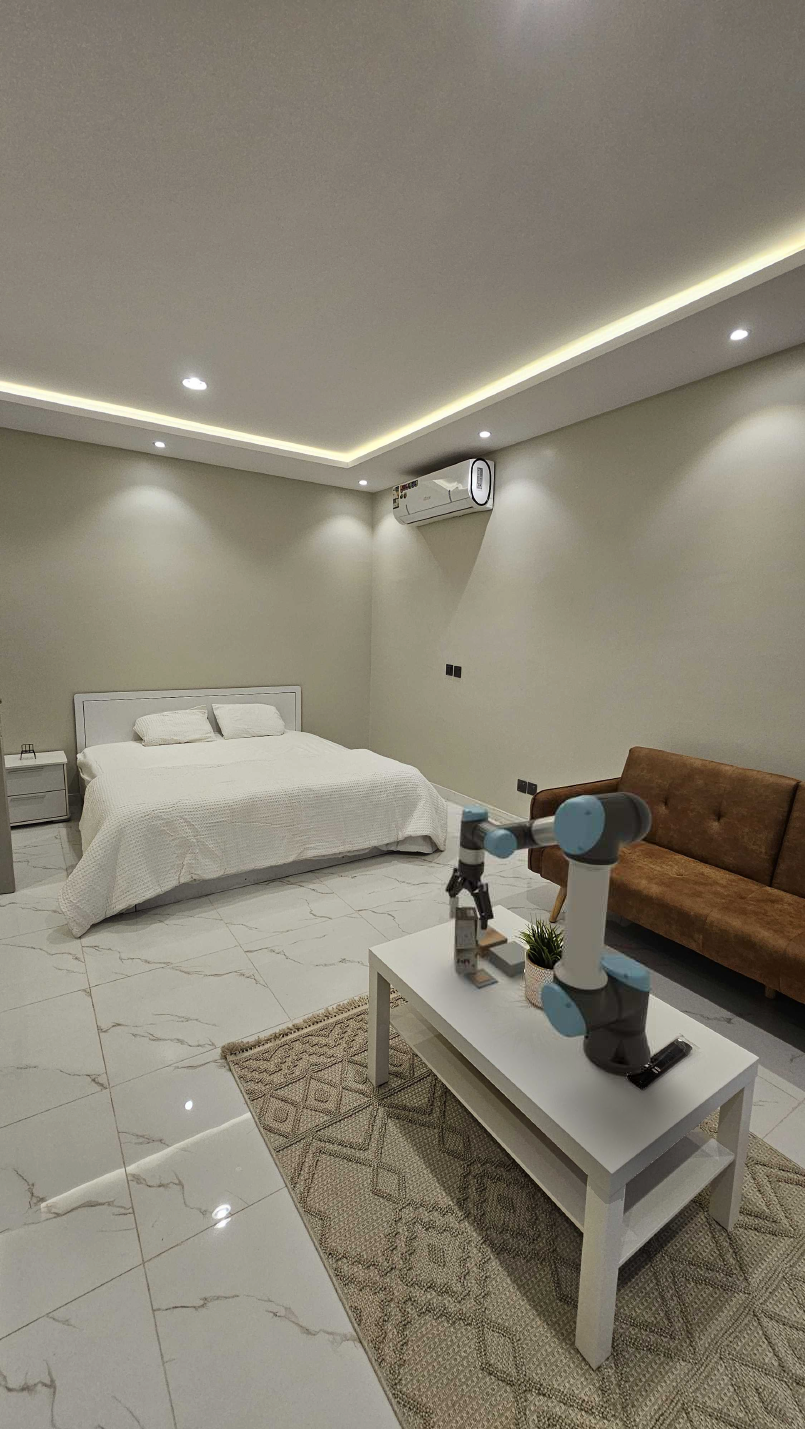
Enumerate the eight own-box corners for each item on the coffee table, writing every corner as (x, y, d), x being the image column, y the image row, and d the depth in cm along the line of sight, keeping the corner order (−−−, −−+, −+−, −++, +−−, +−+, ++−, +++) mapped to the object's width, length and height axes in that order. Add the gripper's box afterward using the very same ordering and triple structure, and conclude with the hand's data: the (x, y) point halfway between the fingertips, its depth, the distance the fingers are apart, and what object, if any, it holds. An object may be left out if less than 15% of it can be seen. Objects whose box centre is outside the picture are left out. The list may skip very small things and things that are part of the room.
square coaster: (498, 981, 171) (498, 979, 171) (478, 988, 168) (478, 986, 168) (482, 969, 177) (482, 967, 177) (463, 975, 174) (463, 973, 174)
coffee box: (477, 973, 174) (479, 920, 173) (455, 972, 174) (457, 919, 173) (474, 957, 183) (475, 906, 182) (453, 956, 184) (454, 906, 182)
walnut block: (506, 950, 188) (507, 938, 188) (481, 958, 183) (482, 946, 183) (486, 935, 197) (487, 924, 196) (462, 942, 192) (462, 931, 191)
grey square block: (535, 969, 179) (537, 956, 178) (510, 977, 174) (511, 964, 173) (513, 952, 187) (514, 940, 187) (488, 960, 182) (489, 948, 182)
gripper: (510, 873, 166) (504, 945, 169) (456, 842, 187) (452, 906, 190) (488, 878, 162) (482, 951, 165) (436, 846, 183) (432, 911, 186)
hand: (466, 927), depth 178 cm, fingers open, 13 cm apart
